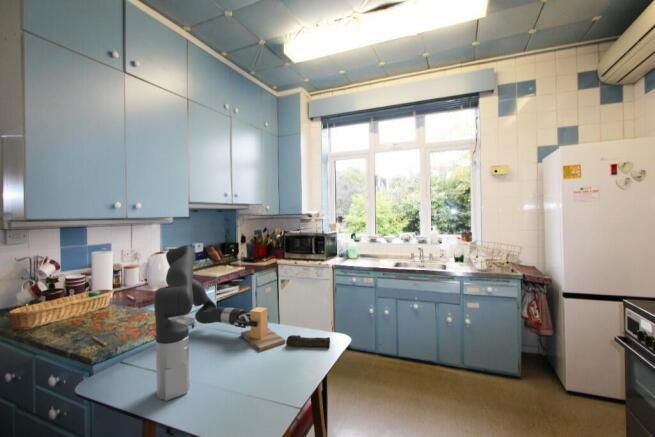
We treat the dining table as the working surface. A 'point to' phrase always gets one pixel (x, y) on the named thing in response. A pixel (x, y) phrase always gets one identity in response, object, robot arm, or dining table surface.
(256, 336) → the light orange rectangular block
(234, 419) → the dining table surface
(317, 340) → the dark brown rough bar
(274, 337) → the jig plate
